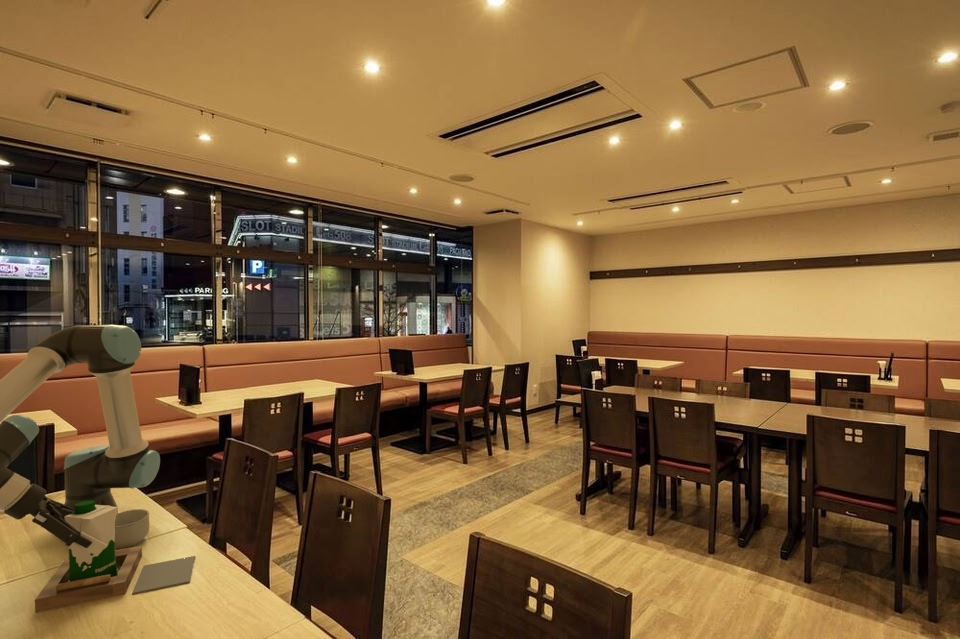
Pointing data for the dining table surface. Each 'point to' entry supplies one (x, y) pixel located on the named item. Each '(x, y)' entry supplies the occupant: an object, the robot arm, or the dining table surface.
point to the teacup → (131, 527)
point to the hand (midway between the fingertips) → (100, 540)
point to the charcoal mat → (164, 574)
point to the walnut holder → (88, 583)
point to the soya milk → (101, 527)
